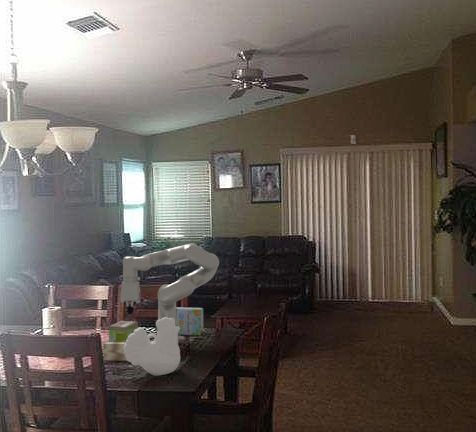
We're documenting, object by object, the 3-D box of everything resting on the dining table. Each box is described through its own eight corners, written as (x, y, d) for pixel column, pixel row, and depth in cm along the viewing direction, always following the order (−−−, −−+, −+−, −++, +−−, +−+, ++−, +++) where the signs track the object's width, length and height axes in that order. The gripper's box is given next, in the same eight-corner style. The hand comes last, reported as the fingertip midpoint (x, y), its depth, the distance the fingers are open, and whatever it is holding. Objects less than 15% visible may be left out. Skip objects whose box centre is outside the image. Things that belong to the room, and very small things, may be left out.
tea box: (127, 356, 285) (127, 326, 285) (108, 355, 287) (107, 326, 287) (138, 349, 300) (138, 320, 300) (120, 348, 302) (120, 319, 302)
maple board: (129, 358, 281) (129, 342, 281) (128, 360, 278) (127, 343, 278) (105, 358, 282) (104, 342, 281) (103, 360, 279) (103, 343, 278)
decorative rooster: (179, 366, 266) (179, 313, 266) (181, 377, 251) (181, 319, 250) (124, 369, 262) (123, 315, 262) (123, 380, 247) (122, 322, 246)
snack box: (203, 333, 335) (203, 307, 334) (200, 335, 329) (200, 309, 329) (169, 332, 339) (168, 306, 339) (165, 334, 334) (165, 308, 334)
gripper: (145, 278, 312) (145, 312, 313) (118, 278, 313) (118, 312, 313) (142, 280, 305) (142, 315, 305) (114, 280, 306) (114, 315, 306)
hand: (130, 313), depth 309 cm, fingers closed
